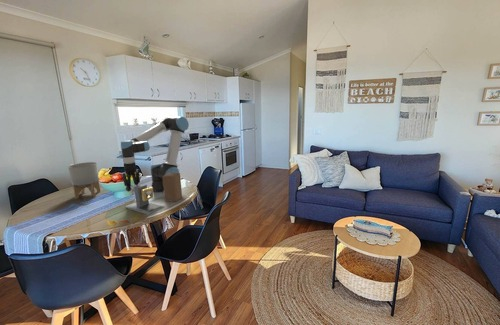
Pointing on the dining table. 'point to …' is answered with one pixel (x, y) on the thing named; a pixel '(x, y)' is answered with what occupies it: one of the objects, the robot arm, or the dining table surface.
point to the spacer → (145, 193)
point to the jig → (143, 202)
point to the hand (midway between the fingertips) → (133, 193)
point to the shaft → (140, 191)
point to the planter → (84, 177)
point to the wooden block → (172, 186)
